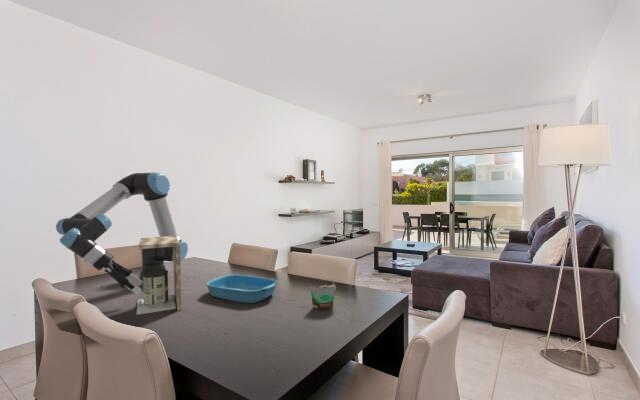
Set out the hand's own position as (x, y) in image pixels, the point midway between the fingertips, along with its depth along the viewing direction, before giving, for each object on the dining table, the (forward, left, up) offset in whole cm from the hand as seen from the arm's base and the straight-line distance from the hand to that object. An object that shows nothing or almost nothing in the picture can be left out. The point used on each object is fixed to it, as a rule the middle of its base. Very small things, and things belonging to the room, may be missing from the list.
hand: (140, 288), depth 144 cm
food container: (-54, +62, -9) cm, 83 cm away
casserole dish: (-40, +19, -9) cm, 45 cm away
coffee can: (-6, +2, -8) cm, 10 cm away
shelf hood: (-8, +2, -9) cm, 12 cm away
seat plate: (-6, +2, -9) cm, 11 cm away
